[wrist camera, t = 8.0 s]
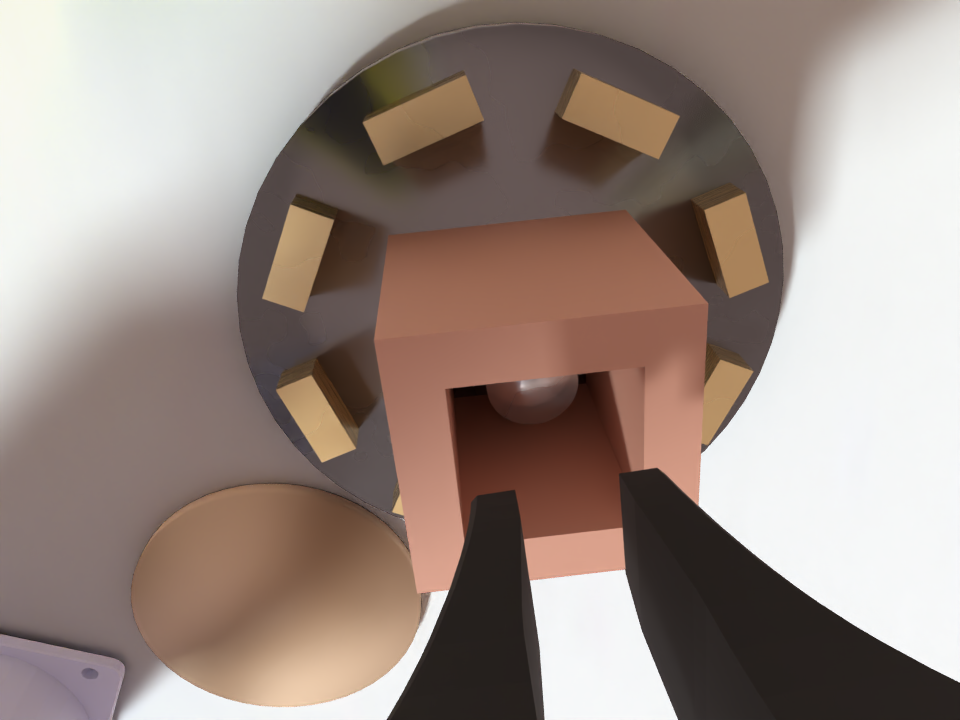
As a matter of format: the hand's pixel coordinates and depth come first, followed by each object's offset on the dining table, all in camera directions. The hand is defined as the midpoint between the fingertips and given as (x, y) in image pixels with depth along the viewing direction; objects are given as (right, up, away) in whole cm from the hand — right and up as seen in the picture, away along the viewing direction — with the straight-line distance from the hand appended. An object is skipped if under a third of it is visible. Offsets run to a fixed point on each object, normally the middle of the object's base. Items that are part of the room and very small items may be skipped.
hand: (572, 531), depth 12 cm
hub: (-1, +4, +8) cm, 9 cm away
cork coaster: (-8, -5, +12) cm, 16 cm away
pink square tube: (0, +3, +8) cm, 8 cm away
